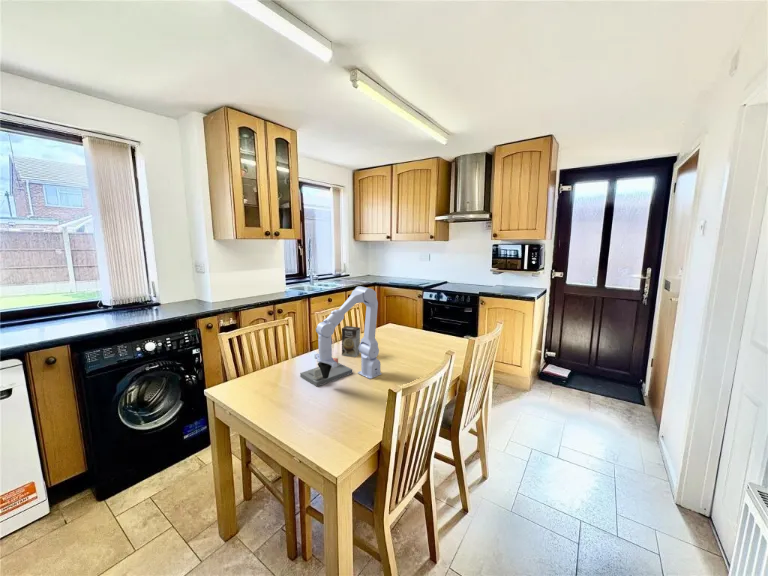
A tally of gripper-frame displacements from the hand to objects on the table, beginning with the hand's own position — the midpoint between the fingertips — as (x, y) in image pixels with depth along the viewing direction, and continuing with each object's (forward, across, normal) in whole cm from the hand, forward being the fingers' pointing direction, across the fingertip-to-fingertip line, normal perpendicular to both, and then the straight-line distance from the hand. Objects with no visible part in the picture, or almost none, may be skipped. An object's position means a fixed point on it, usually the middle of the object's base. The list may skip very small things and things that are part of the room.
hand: (325, 377), depth 140 cm
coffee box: (+5, -23, +34) cm, 41 cm away
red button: (+1, -13, +14) cm, 20 cm away
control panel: (+4, -10, +8) cm, 13 cm away
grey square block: (+2, -6, 0) cm, 6 cm away
